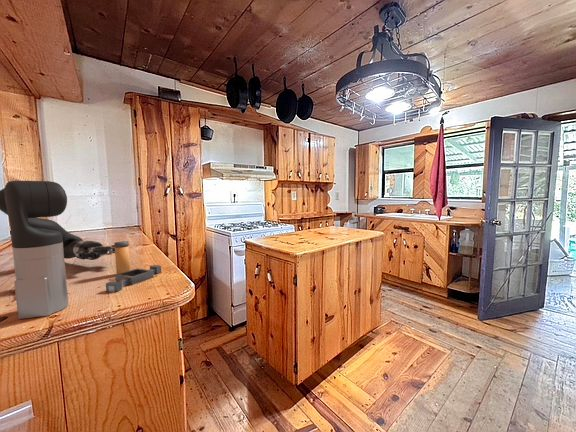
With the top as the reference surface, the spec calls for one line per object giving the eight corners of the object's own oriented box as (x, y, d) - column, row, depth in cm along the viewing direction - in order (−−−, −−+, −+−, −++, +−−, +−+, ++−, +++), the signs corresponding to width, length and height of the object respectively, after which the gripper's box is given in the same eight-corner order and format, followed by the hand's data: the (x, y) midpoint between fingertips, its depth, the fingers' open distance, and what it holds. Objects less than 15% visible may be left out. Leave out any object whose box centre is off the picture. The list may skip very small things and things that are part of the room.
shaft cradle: (113, 293, 77) (112, 284, 77) (93, 289, 81) (93, 281, 81) (168, 273, 96) (168, 266, 96) (150, 270, 100) (150, 264, 99)
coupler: (128, 275, 95) (126, 243, 94) (115, 276, 94) (112, 243, 93) (132, 271, 99) (129, 240, 98) (119, 272, 98) (116, 241, 97)
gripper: (66, 244, 101) (87, 247, 93) (106, 238, 113) (127, 240, 106) (68, 262, 101) (89, 267, 94) (107, 254, 114) (129, 258, 106)
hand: (109, 253), depth 100 cm, fingers open, 8 cm apart
